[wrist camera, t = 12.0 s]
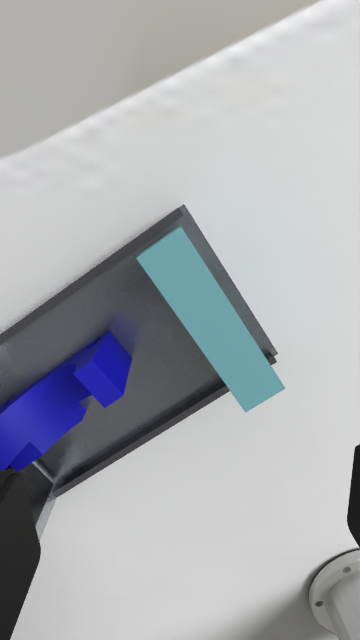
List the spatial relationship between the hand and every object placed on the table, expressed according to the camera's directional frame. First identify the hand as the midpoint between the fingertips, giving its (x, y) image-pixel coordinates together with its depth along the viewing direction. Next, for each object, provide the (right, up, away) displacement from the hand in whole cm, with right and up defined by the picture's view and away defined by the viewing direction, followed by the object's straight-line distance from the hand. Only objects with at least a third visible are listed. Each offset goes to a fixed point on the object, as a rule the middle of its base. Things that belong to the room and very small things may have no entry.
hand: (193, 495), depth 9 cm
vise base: (-7, +1, +18) cm, 20 cm away
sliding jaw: (+1, +6, +16) cm, 17 cm away
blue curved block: (-10, -1, +17) cm, 20 cm away
